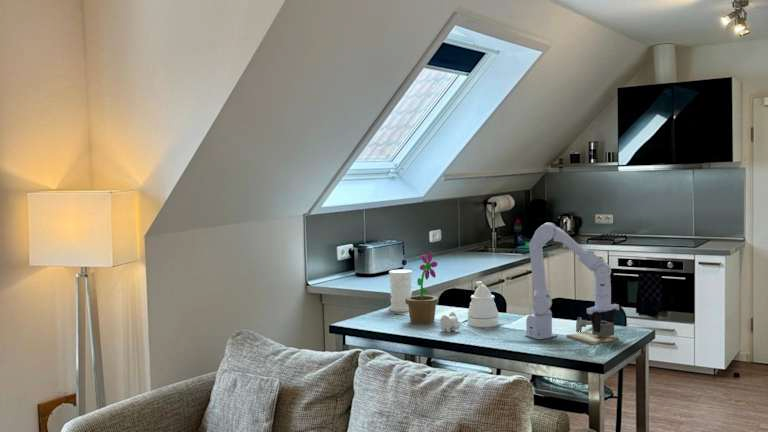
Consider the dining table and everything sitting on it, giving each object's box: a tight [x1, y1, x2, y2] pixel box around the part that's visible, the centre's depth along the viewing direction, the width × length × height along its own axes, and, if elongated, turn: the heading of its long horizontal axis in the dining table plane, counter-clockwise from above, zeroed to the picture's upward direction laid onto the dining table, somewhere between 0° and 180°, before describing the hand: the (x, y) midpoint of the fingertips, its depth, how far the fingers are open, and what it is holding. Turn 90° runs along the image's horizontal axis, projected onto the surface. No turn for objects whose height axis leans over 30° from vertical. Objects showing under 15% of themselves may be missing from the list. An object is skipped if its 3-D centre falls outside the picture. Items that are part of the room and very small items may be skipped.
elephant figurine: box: [439, 311, 463, 333], centre depth 299 cm, size 8×10×7 cm
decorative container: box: [388, 269, 413, 313], centre depth 346 cm, size 12×12×18 cm
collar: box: [591, 320, 615, 337], centre depth 279 cm, size 6×6×4 cm
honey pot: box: [467, 281, 499, 328], centre depth 311 cm, size 13×13×18 cm
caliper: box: [575, 316, 592, 333], centre depth 298 cm, size 21×1×6 cm, turn 140°
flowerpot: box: [405, 251, 440, 325], centre depth 318 cm, size 14×14×30 cm
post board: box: [566, 330, 620, 345], centre depth 281 cm, size 14×13×5 cm
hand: (603, 330), depth 279 cm, fingers open, 6 cm apart
